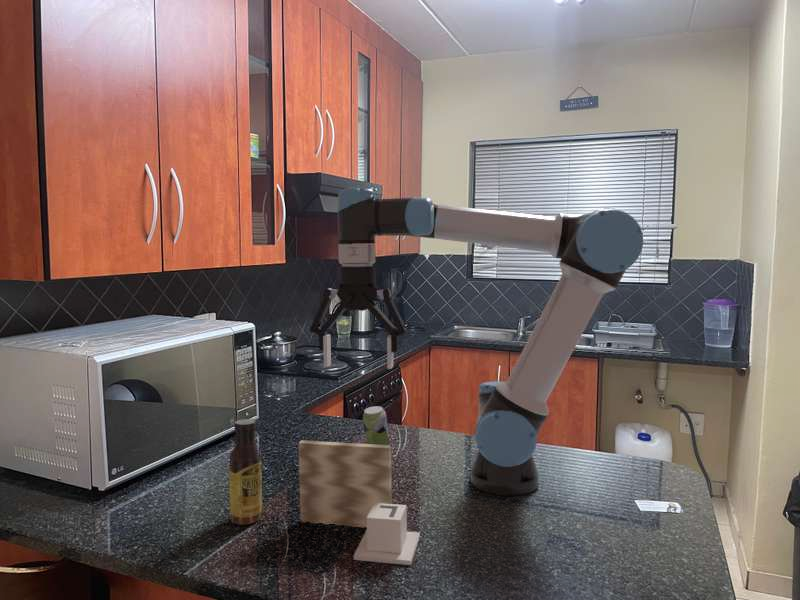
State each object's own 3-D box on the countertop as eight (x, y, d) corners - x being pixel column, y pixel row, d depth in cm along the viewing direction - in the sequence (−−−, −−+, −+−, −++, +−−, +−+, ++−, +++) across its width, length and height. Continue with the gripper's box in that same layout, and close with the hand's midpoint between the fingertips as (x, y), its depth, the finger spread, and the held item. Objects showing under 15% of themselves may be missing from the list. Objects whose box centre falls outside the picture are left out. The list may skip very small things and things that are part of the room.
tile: (419, 536, 111) (419, 531, 111) (410, 565, 101) (410, 560, 101) (367, 532, 113) (367, 527, 113) (353, 559, 103) (353, 554, 103)
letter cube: (406, 536, 109) (406, 504, 109) (400, 553, 103) (400, 519, 103) (374, 533, 110) (373, 502, 110) (366, 550, 105) (366, 516, 104)
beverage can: (394, 450, 157) (394, 405, 156) (378, 459, 151) (378, 412, 150) (375, 446, 160) (374, 402, 159) (358, 454, 154) (357, 409, 153)
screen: (396, 514, 120) (395, 437, 118) (390, 529, 114) (389, 448, 112) (311, 508, 123) (309, 432, 122) (300, 522, 117) (298, 443, 116)
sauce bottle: (245, 530, 114) (242, 429, 112) (223, 522, 118) (219, 423, 116) (270, 516, 120) (267, 420, 118) (247, 509, 123) (244, 415, 121)
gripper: (292, 266, 121) (295, 368, 123) (413, 265, 117) (414, 372, 119) (305, 264, 129) (307, 361, 131) (419, 264, 124) (420, 364, 126)
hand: (358, 366), depth 125 cm, fingers open, 13 cm apart
